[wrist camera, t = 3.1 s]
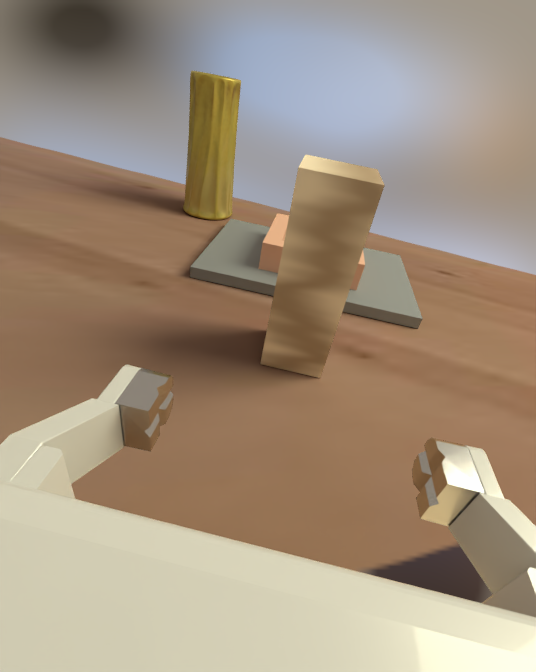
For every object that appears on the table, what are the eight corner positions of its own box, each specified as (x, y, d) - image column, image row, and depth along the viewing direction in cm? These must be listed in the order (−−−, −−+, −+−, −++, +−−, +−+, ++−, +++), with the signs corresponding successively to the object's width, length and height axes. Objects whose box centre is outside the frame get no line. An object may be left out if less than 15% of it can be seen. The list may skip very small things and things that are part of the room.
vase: (186, 201, 48) (190, 69, 40) (232, 208, 49) (245, 80, 40) (179, 216, 43) (182, 69, 35) (231, 223, 44) (245, 81, 36)
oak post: (260, 364, 24) (298, 167, 17) (270, 330, 27) (305, 154, 20) (320, 378, 23) (384, 185, 16) (322, 342, 27) (377, 169, 20)
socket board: (190, 277, 31) (191, 238, 29) (230, 227, 43) (233, 196, 41) (417, 328, 30) (435, 292, 28) (396, 263, 42) (408, 234, 40)
